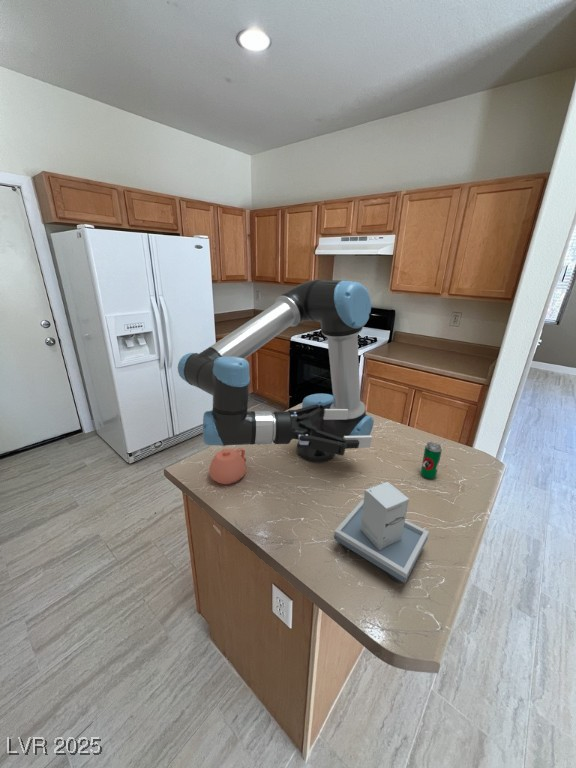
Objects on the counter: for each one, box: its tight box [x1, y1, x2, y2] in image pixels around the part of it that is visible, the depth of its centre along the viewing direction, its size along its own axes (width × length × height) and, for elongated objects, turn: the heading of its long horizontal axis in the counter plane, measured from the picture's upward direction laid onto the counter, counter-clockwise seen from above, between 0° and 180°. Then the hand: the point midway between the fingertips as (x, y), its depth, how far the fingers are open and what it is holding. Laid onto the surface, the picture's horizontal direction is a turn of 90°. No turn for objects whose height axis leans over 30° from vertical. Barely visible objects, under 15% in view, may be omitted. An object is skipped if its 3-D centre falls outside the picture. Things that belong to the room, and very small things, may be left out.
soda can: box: [419, 441, 443, 480], centre depth 105 cm, size 5×5×12 cm
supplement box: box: [360, 481, 410, 550], centre depth 75 cm, size 7×7×13 cm
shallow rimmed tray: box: [333, 498, 430, 584], centre depth 78 cm, size 18×15×6 cm
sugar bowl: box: [208, 447, 247, 485], centre depth 105 cm, size 12×14×10 cm
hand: (358, 426), depth 76 cm, fingers open, 13 cm apart
